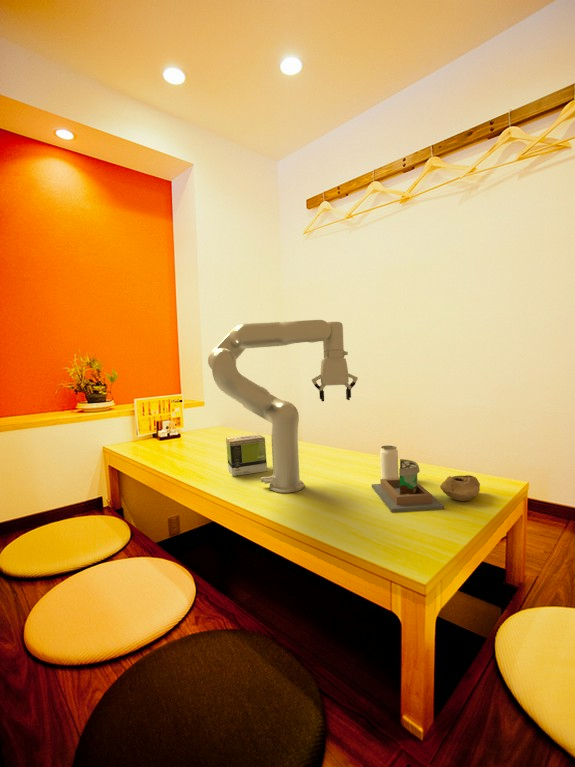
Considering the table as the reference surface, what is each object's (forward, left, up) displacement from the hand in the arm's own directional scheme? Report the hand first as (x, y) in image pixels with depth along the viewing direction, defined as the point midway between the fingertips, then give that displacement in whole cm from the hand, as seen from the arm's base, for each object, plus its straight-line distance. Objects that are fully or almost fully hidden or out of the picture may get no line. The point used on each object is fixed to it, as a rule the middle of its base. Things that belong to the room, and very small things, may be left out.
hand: (335, 400), depth 141 cm
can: (+19, -3, -31) cm, 36 cm away
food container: (+20, -22, -30) cm, 42 cm away
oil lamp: (+36, -25, -31) cm, 53 cm away
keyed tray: (+18, -22, -30) cm, 42 cm away
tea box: (-36, +17, -31) cm, 50 cm away
